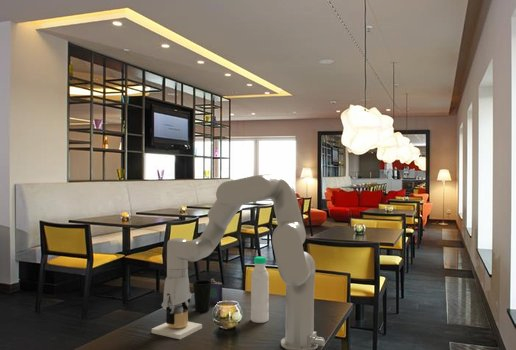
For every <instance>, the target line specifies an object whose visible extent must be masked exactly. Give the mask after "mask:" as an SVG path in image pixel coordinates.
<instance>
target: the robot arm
mask: <svg viewBox="0 0 516 350" xmlns="http://www.w3.org/2000/svg"><path fill="white" fill-rule="evenodd" d="M215 197H216V200H215V202H214V203H213V204H212V206H211V207H210V209H209V210H208V212H207V218H208V223H207V225H206V227H205V229H204V230H203V231H202V233H201V235H200V236H199V237H198V238H195V239H191V240H187V239H186V238H182V237H181V238H178V237H177V238H176V237H175V238H170V239H168V241H167V243H166V277H165V279H164V287H163V300H162V301H163V302H162V303H161V307H162V308H163V310H164V312H165V314H166V315H165V317H166V318H165V320H166V322H165V323H167V324H172V325H173V324H174V313H173V311H174V308H175V306H179V305H180V306H182V307H183V309H187V310H188V311H189V306H190V303H191V299H192V297H193V294H192V292H191V291H190V279H189V268H188V267H189V264H188V263H189V262H192V263H194V262H198V261H200V260H202V259H204V258H207V257H209V256H210V255H211V254H212V253H213V252H214V250H215V249H216V247H218V245H219V243H220V242H221V240H223V237H224V236H225V234H226V232H227V231H226V230H227V229H228V226H229V224H230V223H231V222H232V220H233V219H234V217H235V216H236V214H237V213H238V211H239V210H240V209H241V207H242V206H243V205H244V204H250V203H256V202H262V201H266V200H272V202H273V209H274V214H275V218H276V225H277V226H276V228H274V230H273V231H272V236H271V242H272V243H271V244H272V248H273V251H274V257H275V262H276V264H277V271H278V273H279V276H280V278H281V280H282V281H283V282H284V283H285V284H286V285H285V329H284V330H285V337H283V338H282V339H280V346H281V347H282V348H284V349H285V350H316V349H318V347H319V346H322V347H325V344H326V340H325V337H322V336H318V335H317V331H314V328H315V323H314V321H315V320H314V319H315V309H314V308H315V307H314V306H315V281H316V262H315V260H314V258H313V256H312V255H311V254H310V253H308V252H307V251H304V246H303V244H304V243H305V241H306V238H307V233H306V228H305V224H304V222H303V221H304V220H303V216H302V212H301V209H300V205H299V201H298V197H297V194H296V191H295V189H294V187H293V186H292V184H291V183H290V181H288V180H287V179H285V178H283V177H281V176H278V175H273V174H257V175H252V176H249V177H248V176H247V177H243V178H238V179H233V180H227V181H223V182H221V183H220V184H219V185H218V187H217V189H216V192H215Z"/></svg>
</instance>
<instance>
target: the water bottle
mask: <svg viewBox="0 0 516 350" xmlns="http://www.w3.org/2000/svg"><path fill="white" fill-rule="evenodd" d="M266 263H267V258H266V256H254V258H253V264H254V267H253V270H252V272H251V275H250V278H251V280H250V281H251V282H250V284H251V285H250V298H251V302H250V310H251V311H250V320H251V321H252V322H253V323H256V324H257V323H258V324H264V323H267V322H268V321H269V317H270V315H269V314H270V313H269V310H270V309H269V308H270V306H269V305H270V304H269V297H270V283H269V279H270V278H269V277H270V275H269V274H270V273H269V272H268V271H267V268H266Z"/></svg>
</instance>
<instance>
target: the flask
mask: <svg viewBox="0 0 516 350" xmlns="http://www.w3.org/2000/svg"><path fill="white" fill-rule="evenodd" d="M210 281H211V293H210V304H214V305H215V304H216V303H217V302H219V301H222V302H223V283H222V282H220V281H216V280H215V278H211V279H210ZM216 305H217V304H216Z"/></svg>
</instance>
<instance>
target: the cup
mask: <svg viewBox="0 0 516 350" xmlns="http://www.w3.org/2000/svg"><path fill="white" fill-rule="evenodd" d="M192 287H193V298H194V309H195V312H196V313H197V314H204V313H205V314H206V313H207V312H209V310H210V304H211V303H210V293H211V280H207V279H206V280H205V279H204V280H201V279H200V280H195V281H193V282H192Z"/></svg>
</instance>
